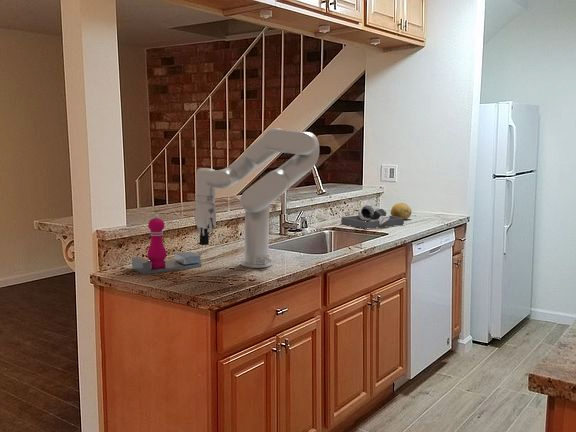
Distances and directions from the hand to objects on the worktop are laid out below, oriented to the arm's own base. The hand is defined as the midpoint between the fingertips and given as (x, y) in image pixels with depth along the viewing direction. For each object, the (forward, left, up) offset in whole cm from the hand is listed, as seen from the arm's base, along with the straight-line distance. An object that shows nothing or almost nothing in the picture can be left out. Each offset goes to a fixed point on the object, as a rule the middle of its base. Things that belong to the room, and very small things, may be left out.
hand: (204, 244), depth 238 cm
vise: (-1, +16, -7) cm, 18 cm away
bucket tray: (+34, -126, -7) cm, 131 cm away
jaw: (-1, +8, -6) cm, 10 cm away
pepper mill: (-1, +21, -6) cm, 21 cm away
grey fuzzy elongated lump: (+34, -126, -7) cm, 131 cm away
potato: (+40, -155, -8) cm, 160 cm away
